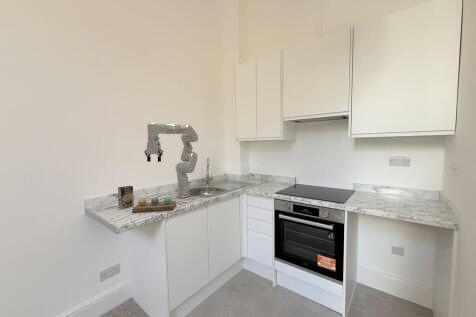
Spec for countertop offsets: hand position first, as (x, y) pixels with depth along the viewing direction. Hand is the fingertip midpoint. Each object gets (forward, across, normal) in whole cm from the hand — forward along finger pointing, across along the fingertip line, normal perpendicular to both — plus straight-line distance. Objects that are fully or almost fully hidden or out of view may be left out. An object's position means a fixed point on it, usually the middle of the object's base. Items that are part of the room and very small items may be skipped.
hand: (154, 161), depth 160 cm
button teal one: (+31, -11, +1) cm, 33 cm away
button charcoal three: (+31, -3, +5) cm, 31 cm away
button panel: (+35, -3, +4) cm, 36 cm away
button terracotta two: (+31, +5, +9) cm, 32 cm away
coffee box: (+36, +23, +6) cm, 43 cm away
